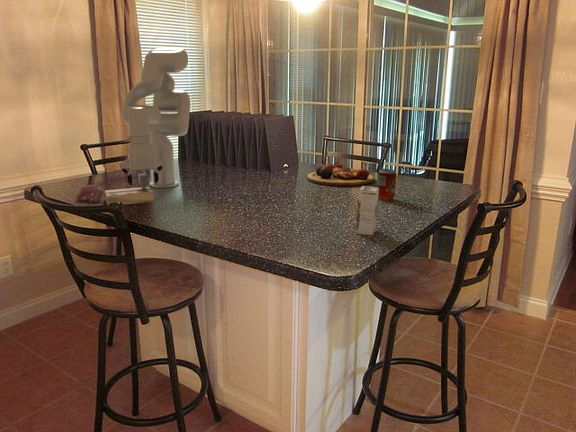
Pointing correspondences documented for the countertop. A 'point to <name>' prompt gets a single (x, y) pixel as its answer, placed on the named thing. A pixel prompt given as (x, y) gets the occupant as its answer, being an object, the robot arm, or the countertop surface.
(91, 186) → the pink domed lump
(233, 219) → the countertop surface
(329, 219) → the countertop surface
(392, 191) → the soda can
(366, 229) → the syrup box
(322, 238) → the countertop surface
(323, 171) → the wooden plate with food
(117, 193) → the fader board
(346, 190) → the countertop surface
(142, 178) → the fader knob
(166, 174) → the robot arm
